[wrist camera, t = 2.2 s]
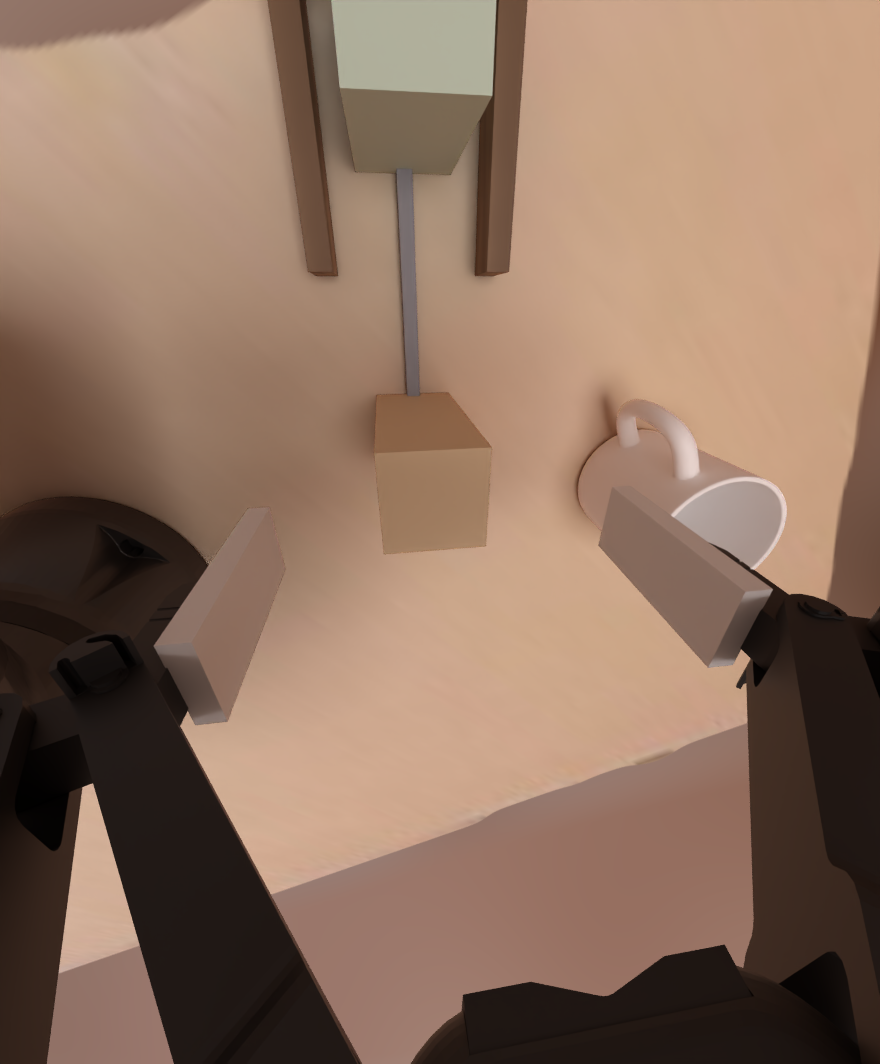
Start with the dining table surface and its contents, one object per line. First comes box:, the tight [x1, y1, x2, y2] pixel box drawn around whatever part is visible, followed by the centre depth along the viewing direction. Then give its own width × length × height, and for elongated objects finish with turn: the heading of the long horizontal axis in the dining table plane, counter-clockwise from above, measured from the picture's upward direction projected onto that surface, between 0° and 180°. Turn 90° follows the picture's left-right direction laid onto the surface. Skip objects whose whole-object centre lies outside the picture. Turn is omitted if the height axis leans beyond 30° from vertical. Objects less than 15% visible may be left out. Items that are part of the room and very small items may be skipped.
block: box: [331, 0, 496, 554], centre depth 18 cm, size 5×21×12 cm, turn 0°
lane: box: [268, 0, 527, 276], centre depth 17 cm, size 10×12×7 cm
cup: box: [578, 399, 787, 570], centre depth 26 cm, size 8×12×10 cm
